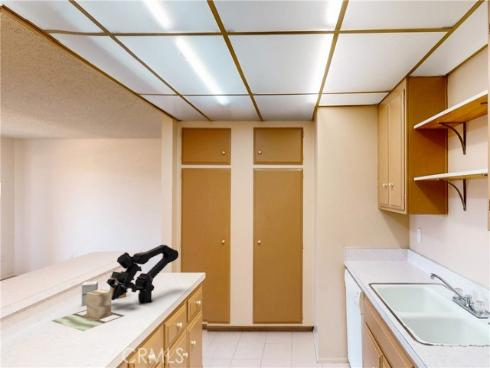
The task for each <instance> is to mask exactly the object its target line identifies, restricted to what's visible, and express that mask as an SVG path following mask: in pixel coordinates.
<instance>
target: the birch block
mask: <svg viewBox="0 0 490 368" xmlns="http://www.w3.org/2000/svg"><path fill="white" fill-rule="evenodd" d="M86 310H87V311H86V314H87V316H89V317H93V318H96V319H97V318H100V317H103V316H106V315H109V314H111V312H112V300H111V291H110V289H109V290H108V289H103V288H98V290H96V291H92V292H88V293H87V306H86Z"/></svg>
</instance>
